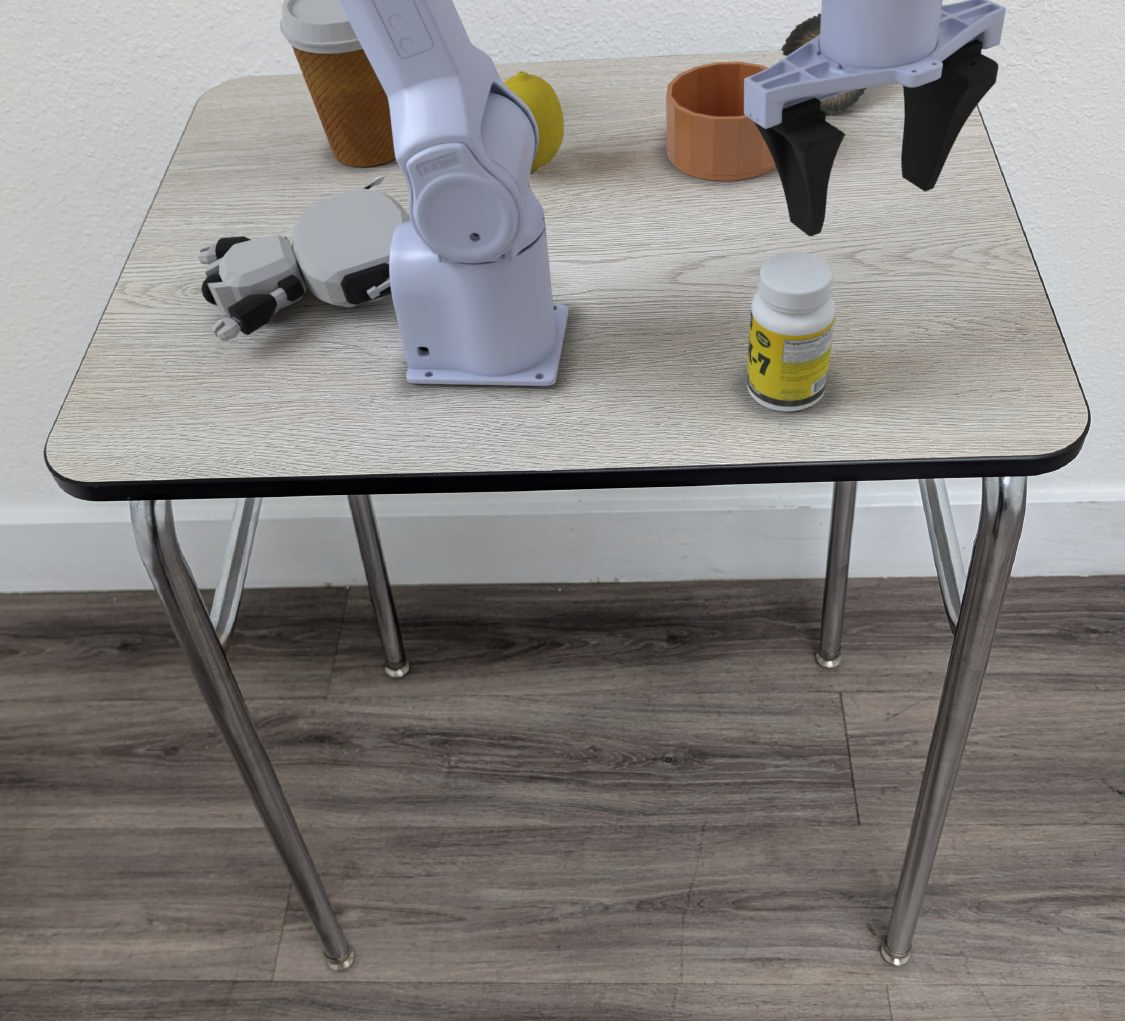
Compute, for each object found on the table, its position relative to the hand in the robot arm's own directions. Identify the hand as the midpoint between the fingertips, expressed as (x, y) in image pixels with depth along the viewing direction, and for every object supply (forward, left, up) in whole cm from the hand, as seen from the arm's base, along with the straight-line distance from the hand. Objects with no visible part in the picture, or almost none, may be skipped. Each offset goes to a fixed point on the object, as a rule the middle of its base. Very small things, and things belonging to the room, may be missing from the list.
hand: (862, 204), depth 62 cm
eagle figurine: (+1, +34, -10) cm, 36 cm away
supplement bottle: (-4, -4, -10) cm, 12 cm away
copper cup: (-8, +24, -10) cm, 27 cm away
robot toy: (-36, +5, -10) cm, 37 cm away
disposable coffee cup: (-37, +25, -10) cm, 46 cm away
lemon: (-23, +21, -10) cm, 33 cm away
